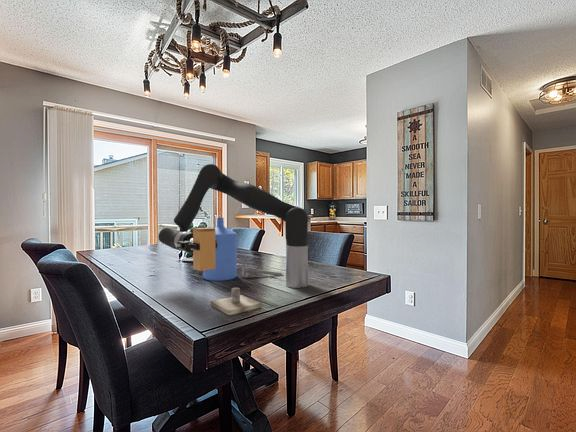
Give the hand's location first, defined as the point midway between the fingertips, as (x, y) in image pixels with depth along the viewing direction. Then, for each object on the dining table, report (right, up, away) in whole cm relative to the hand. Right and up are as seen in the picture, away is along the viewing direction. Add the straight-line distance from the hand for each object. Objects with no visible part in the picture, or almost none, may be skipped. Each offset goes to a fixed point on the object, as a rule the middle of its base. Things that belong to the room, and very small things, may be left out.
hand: (207, 246), depth 105 cm
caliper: (+15, -19, +43) cm, 50 cm away
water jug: (-5, -19, +40) cm, 44 cm away
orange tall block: (-2, -8, +2) cm, 8 cm away
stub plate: (+10, -20, -2) cm, 22 cm away
